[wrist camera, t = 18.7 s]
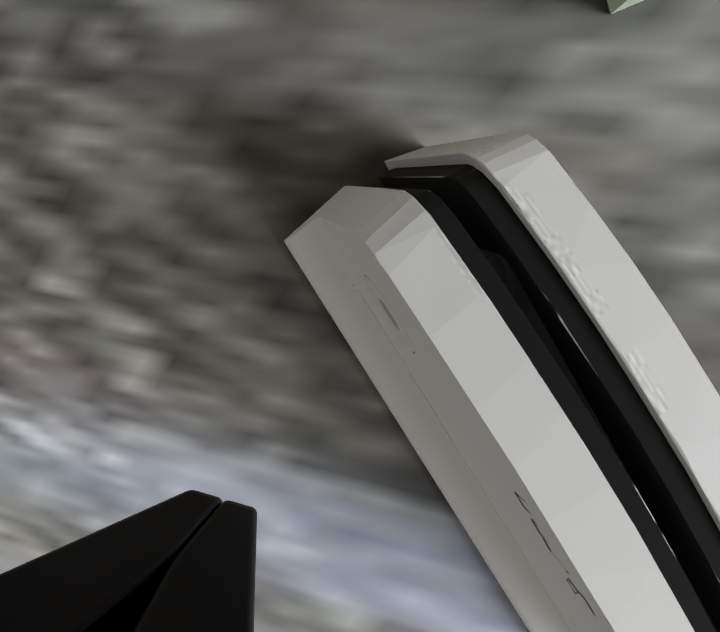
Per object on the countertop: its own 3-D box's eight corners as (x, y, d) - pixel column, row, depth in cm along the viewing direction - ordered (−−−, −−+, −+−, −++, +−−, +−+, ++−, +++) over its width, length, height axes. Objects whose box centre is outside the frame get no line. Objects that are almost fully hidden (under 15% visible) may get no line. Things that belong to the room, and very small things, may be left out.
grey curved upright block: (276, 229, 19) (272, 206, 9) (408, 148, 19) (545, 38, 9) (540, 648, 21) (762, 988, 12) (653, 572, 22) (964, 840, 12)
